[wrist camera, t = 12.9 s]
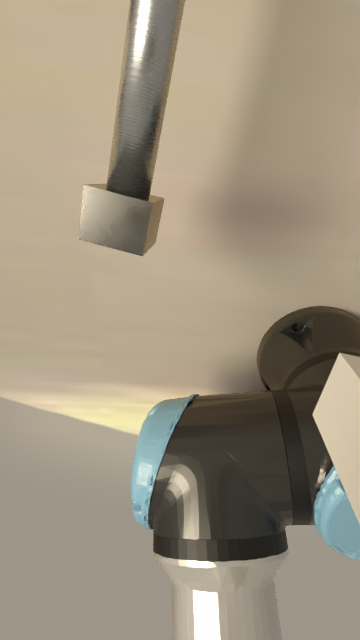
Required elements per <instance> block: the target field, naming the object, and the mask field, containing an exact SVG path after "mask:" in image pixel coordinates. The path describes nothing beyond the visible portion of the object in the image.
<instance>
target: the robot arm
mask: <svg viewBox="0 0 360 640" xmlns="http://www.w3.org/2000/svg"><path fill="white" fill-rule="evenodd" d="M257 364H258V369H259V374H260V377H261V380H262V382H263V384H264V386H265V388H266V389H267V391H259V392H245V393H232V394H219V395H206V396H199V395H198V394H193V395H191V396H189V397H185V398H178V399H170V400H165V401H162V402H160V403H158V404H157V405H155V406H154V407H153V408H152V410H151V411H150V412H149V414H148V416H147V418H146V420H145V421H144V423H143V425H142V428H141V431H140V434H139V437H138V440H137V445H136V449H135V454H134V460H133V468H132V476H131V477H132V478H131V499H132V501H133V514H134V517H135V519H136V521H137V523H138V524H139V525H141V526H143V527H145V528H146V529H153V531H154V543H153V545H154V546H153V548H154V549H153V551H154V557H155V558H156V559H157V561H158V562H159V563H160V564H161V565H162V567H163V568H164V569H165V570H166V572H167V573H168V574H169V576H170V578H171V586H172V587H171V589H172V590H171V592H172V593H171V595H172V640H282V637H281V629H280V622H279V614H278V607H277V599H276V592H275V584H274V576H275V573H276V571H277V569H278V568H279V567H280V565H281V564H282V562H283V561H284V559H285V558H286V557H287V555H288V545H287V538H286V532H285V526H287V525H315V526H316V529H317V530H318V532H319V534H320V535H321V536H322V537H323V539H324V540H325V542H326V543H327V544H328V545H329V546H330V547H332V549H333V550H335V551H337V552H338V553H341V554H343V553H346V554H347V556H349V557H351V558H354V559H358V560H360V321H359V320H358V319H357V318H356V317H354V316H353V315H351V314H350V313H348V312H346V311H343V310H340V309H337V308H332V307H321V306H319V307H309V308H304V309H300V310H297V311H295V312H292V313H290V314H288V315H286V316H284V317H283V318H281V319H280V320H278V321H277V322H276V323H275V324H274V325H273V326H272V327H271V328H270V329H269V330H268V331H267V332H266V334H265V335H264V337H263V339H262V341H261V343H260V346H259V349H258V354H257Z"/></svg>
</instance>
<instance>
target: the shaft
mask: <svg viewBox="0 0 360 640" xmlns="http://www.w3.org/2000/svg"><path fill="white" fill-rule="evenodd" d="M184 4H185V0H130V5H129V13H128V21H127V29H126V37H125V45H124V53H123V61H122V69H121V77H120V85H119V92H118V100H117V108H116V116H115V124H114V132H113V140H112V148H111V156H110V164H109V172H108V180H107V184H90V185H84V187H83V198H82V208H81V218H80V229H79V240H83V241H87V242H90V243H94V244H98V245H102V246H106V247H110V248H113V249H117V250H121V251H125V252H129V253H132V254H136V255H140V256H143V255H144V254H145V253H146V252H147V251H148V250H149V249H150V248H151V247H152V246H153V245H154V244H155V242H156V237H157V232H158V227H159V222H160V218H161V213H162V208H163V203H164V198H160V197H157V196H153V195H150V190H151V185H152V179H153V174H154V168H155V163H156V157H157V152H158V146H159V141H160V135H161V130H162V125H163V119H164V114H165V108H166V103H167V97H168V92H169V86H170V81H171V75H172V70H173V64H174V59H175V53H176V48H177V42H178V37H179V31H180V26H181V20H182V15H183V9H184Z"/></svg>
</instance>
